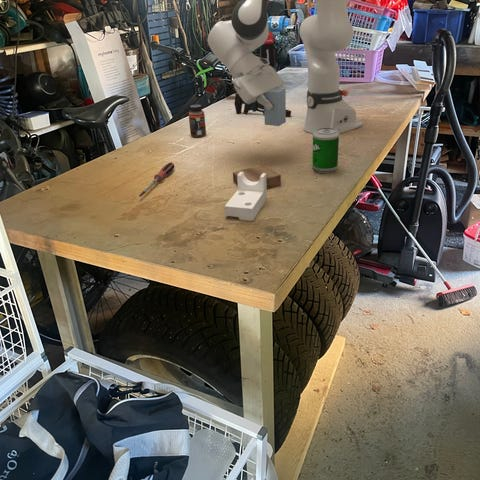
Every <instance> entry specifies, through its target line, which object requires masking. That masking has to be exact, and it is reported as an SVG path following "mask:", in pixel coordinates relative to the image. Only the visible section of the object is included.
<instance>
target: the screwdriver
mask: <svg viewBox="0 0 480 480" xmlns="http://www.w3.org/2000/svg"><path fill="white" fill-rule="evenodd" d="M174 169H175V163H173V162H168V163H167V164H165V165H163V167H162V168H161V169H160V171H158V173H157V174H155V175H154V176H153V178H154V180H152V182H151V183H150V184H149V185H148V186H147V187H146V188H145V189H143V191H142V192H141V193H140V194H139V195H138V198H141V197H143V196H144V194H146V193H147V192H148V191H149V190H150V189H151V188H152V187H153V186H154V185H155V184H156V183H158V182H159V183H161V182H162V181H163V179H165V178H166V177H168V176H169V175H170V174H171V173H172V172H173V171H174Z"/></svg>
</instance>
